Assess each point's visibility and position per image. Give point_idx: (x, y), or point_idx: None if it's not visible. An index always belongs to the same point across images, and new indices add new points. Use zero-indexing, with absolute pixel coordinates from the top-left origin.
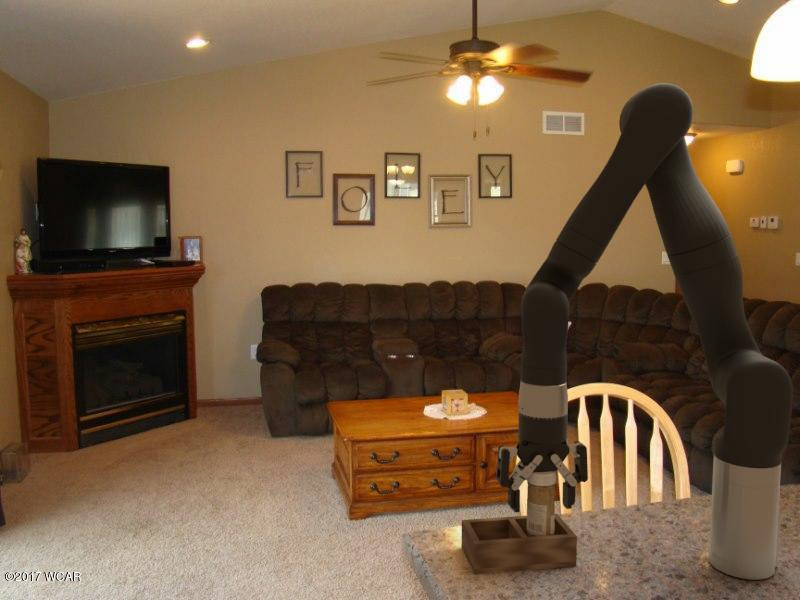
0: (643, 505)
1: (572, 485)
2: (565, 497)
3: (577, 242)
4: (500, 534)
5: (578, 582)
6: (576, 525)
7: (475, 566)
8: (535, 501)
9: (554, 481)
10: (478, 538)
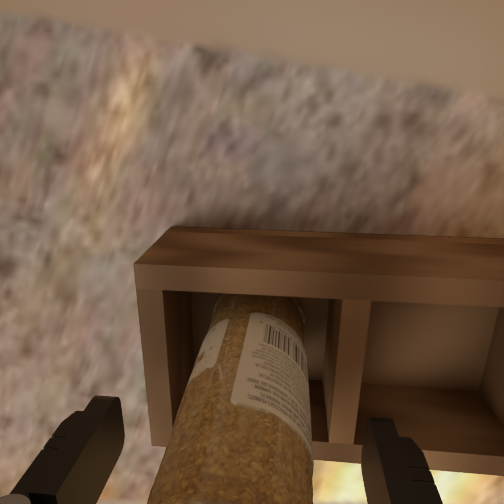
0: None
1: (18, 501)
2: (99, 455)
3: None
4: (375, 404)
5: (200, 124)
6: None
7: None
8: (289, 440)
9: None
10: (454, 404)
